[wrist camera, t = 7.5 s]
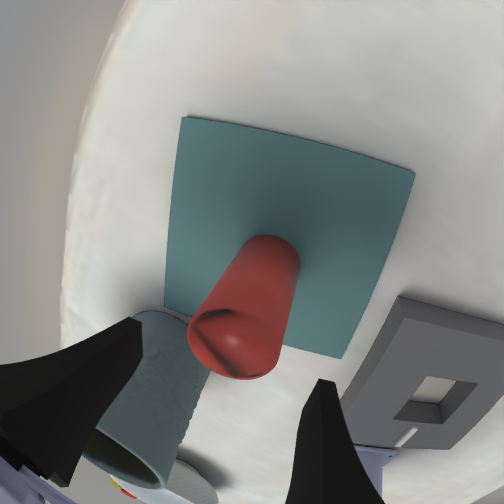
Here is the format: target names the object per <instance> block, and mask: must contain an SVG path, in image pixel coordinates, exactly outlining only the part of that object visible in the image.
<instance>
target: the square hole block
mask: <svg viewBox="0 0 504 504" xmlns="http://www.w3.org/2000/svg"><path fill="white" fill-rule="evenodd" d="M426 376H432V377H438V378H444V379H451V380H458V381H457V382H456V383H455V384H454V386H453V387H452V388H451V390H450V391H449V392H448V393H447V394H446V396H445V397H444V398H443V399H442V400H441V402H440V403H439V404H431V403H423V402H415V401H408V400H409V399H410V397H411V396H412V395H413V394H414V392H415V391H416V390H417V388H418V387H419V386H420V384H421V383H422V382H423V380H424V379H425V378H426ZM503 394H504V325H502V324H499V323H495V322H491V321H487V320H484V319H480V318H476V317H473V316H469V315H465V314H462V313H458V312H454V311H451V310H447V309H443V308H440V307H436V306H432V305H429V304H425V303H421V302H418V301H414V300H410V299H407V298H403V297H399V296H397V298H396V301H395V303H394V305H393V307H392V309H391V311H390V313H389V315H388V317H387V319H386V321H385V323H384V325H383V327H382V329H381V331H380V333H379V334H378V336H377V338H376V340H375V342H374V344H373V346H372V347H371V349H370V351H369V353H368V355H367V356H366V358H365V360H364V362H363V363H362V365H361V367H360V369H359V370H358V372H357V374H356V375H355V377H354V379H353V380H352V382H351V384H350V385H349V387H348V388H347V390H346V392H345V393H344V395H343V396H342V398H341V399H340V404H341V408H342V411H343V415H344V418H345V421H346V424H347V427H348V430H349V433H350V436H351V439H352V441H353V442H356V443H363V444H371V445H380V446H389V447H401V448H415V449H441V450H450V449H451V448H452V447H453V446H454V445H455V444H456V443H457V442H458V441H460V440H461V439H462V438H463V437H464V436H465V435H466V434H467V433H468V432H469V431H470V430H471V429H472V428H473V427H474V426H475V425H476V424H477V423H478V422H479V421H480V420H481V419H482V418H483V417H484V416H485V415H486V413H487V412H488V411H489V410H490V409H491V408H492V407H493V406H494V405H495V404H496V402H497V401H498V400H499V399H500V398H501V397H502V395H503Z"/></svg>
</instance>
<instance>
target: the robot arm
mask: <svg viewBox="0 0 504 504" xmlns="http://www.w3.org/2000/svg"><path fill="white" fill-rule="evenodd" d="M142 358H143V342H142V322H141V321H138V320H136V319H133V318H131V317H128V318H126V319H124V320H122V321H120V322H118V323H116V324H114V325H112V326H111V327H109V328H107V329H105V330H103V331H101V332H99V333H97V334H95V335H93V336H91V337H89V338H87V339H85V340H83V341H81V342H79V343H77V344H74V345H72V346H70V347H68V348H65V349H63V350H60V351H58V352H55V353H52V354H49V355H46V356H43V357H39V358H35V359H31V360H27V361H23V362H17V363H12V364H4V365H0V504H45V500H44V498H45V499H46V500H48V501H49V502H50V503H52V504H77V503H75V502H74V501H72V500H71V499H69V498H68V497H66V496H65V495H63V494H62V493H60V492H59V491H57V490H56V489H55V488H53V487H52V486H50V485H49V484H48V483H46V482H45V481H44V480H42V479H41V478H40V475H41V476H42V477H43V478H45V479H46V480H48V479H50V480H51V481H52V482H54V483H55V484H57V485H58V486H59V487H68V486H69V484H70V481H71V478H72V476H73V473H74V471H75V468H76V466H77V463H78V461H79V459H80V457H81V455H82V453H83V450H84V448H85V446H86V444H87V442H88V441H89V439H90V437H91V435H92V433H93V431H94V429H95V428H96V426H97V424H98V422H99V421H100V419H101V417H102V416H103V414H104V413H105V412H106V410H107V409H108V408H109V406H110V405H111V404H112V402H113V401H114V400H115V398H116V397H117V396H118V394H119V393H120V392H121V390H122V389H123V388H124V387H125V385H126V384H127V383H128V381H129V380H130V379H131V377H132V376H133V374H134V372H135V371H136V369H137V367H138V365H139V364H140V362H141V360H142ZM396 454H397V451H396V450H391V449H380V448H371V447H363V446H356V445H354V444H353V441H352V439H351V436H350V433H349V430H348V427H347V424H346V421H345V418H344V415H343V411H342V408H341V404H340V401H339V397H338V393H337V388H336V384H335V383H334V382H332V381H328V380H323V379H318V381H317V383H316V385H315V387H314V389H313V391H312V393H311V395H310V396H309V398H308V400H307V402H306V404H305V406H304V407H303V410H302V414H301V418H300V422H299V427H298V431H297V439H296V447H295V455H294V463H293V470H292V478H291V483H290V488H289V492H288V495H287V499H286V502H285V504H385V503H384V501H383V500H382V467H383V466H384V465H385V464H386V463H387V462H388V461H390V460H391V459H392V458H393V457H394V456H395V455H396ZM43 497H44V498H43Z"/></svg>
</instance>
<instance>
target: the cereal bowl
mask: <svg viewBox="0 0 504 504" xmlns="http://www.w3.org/2000/svg"><path fill="white" fill-rule="evenodd" d="M110 476H111V477H112V479H113V480H114V481H115V482H116V483H117V484H118V485H119V486H121V487H122V488H123V489H125V490H126V491H127V492H129V493H130V494H132V495H133V496H135V497H137V498H139V499H140V500H142V501H144V502H146V503H148V504H218V497H217V494H216V492H215V490H214V488H213V487H212V486H211V485H210V483H208V481H206V480H205V479H204V478H203V477H201V476H200V474H199V472H198V471H197V470H196V469H195V468H193V467H192V466H190V465H189V464H187V463H185V462H183V461H181V460H179V459H175V461H174V464H173V467H172V470H171V473H170V475H169V478H168V481H167V484H166V486H165V488H163V489H161V490H150V489H145V488H141V487H138V486H135V485H132V484H130V483H127V482H125V481H123V480H120V479H118V478H116V477H115V476H113V475H111V474H110Z"/></svg>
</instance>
